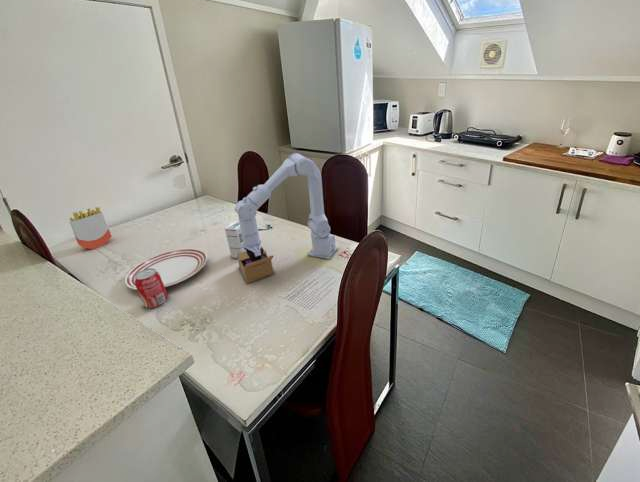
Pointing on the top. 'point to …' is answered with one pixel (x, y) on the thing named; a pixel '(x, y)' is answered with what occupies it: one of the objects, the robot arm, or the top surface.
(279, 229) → the top surface
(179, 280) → the dinner plate
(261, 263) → the purple yarn skein
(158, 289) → the soda can
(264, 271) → the bin
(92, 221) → the french fries container
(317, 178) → the robot arm
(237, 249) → the syrup box
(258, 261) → the bin flap
